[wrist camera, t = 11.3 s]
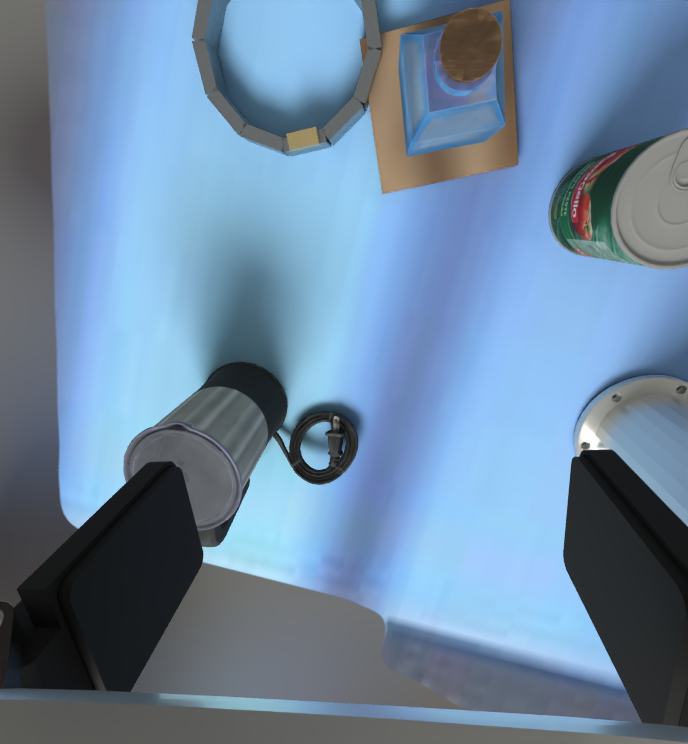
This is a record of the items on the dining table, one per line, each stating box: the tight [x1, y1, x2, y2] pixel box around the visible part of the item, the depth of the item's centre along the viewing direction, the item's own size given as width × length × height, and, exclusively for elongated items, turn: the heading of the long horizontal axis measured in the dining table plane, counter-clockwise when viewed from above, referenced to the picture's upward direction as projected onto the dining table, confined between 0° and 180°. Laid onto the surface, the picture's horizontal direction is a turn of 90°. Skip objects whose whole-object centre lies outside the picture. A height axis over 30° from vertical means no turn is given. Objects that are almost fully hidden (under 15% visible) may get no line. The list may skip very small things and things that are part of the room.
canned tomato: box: [549, 129, 688, 269], centre depth 30 cm, size 8×8×11 cm
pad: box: [360, 0, 518, 194], centre depth 33 cm, size 11×11×1 cm
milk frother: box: [124, 362, 358, 547], centre depth 38 cm, size 14×16×15 cm
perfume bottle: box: [398, 8, 505, 156], centre depth 27 cm, size 6×6×12 cm
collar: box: [192, 0, 382, 156], centre depth 32 cm, size 14×14×3 cm
